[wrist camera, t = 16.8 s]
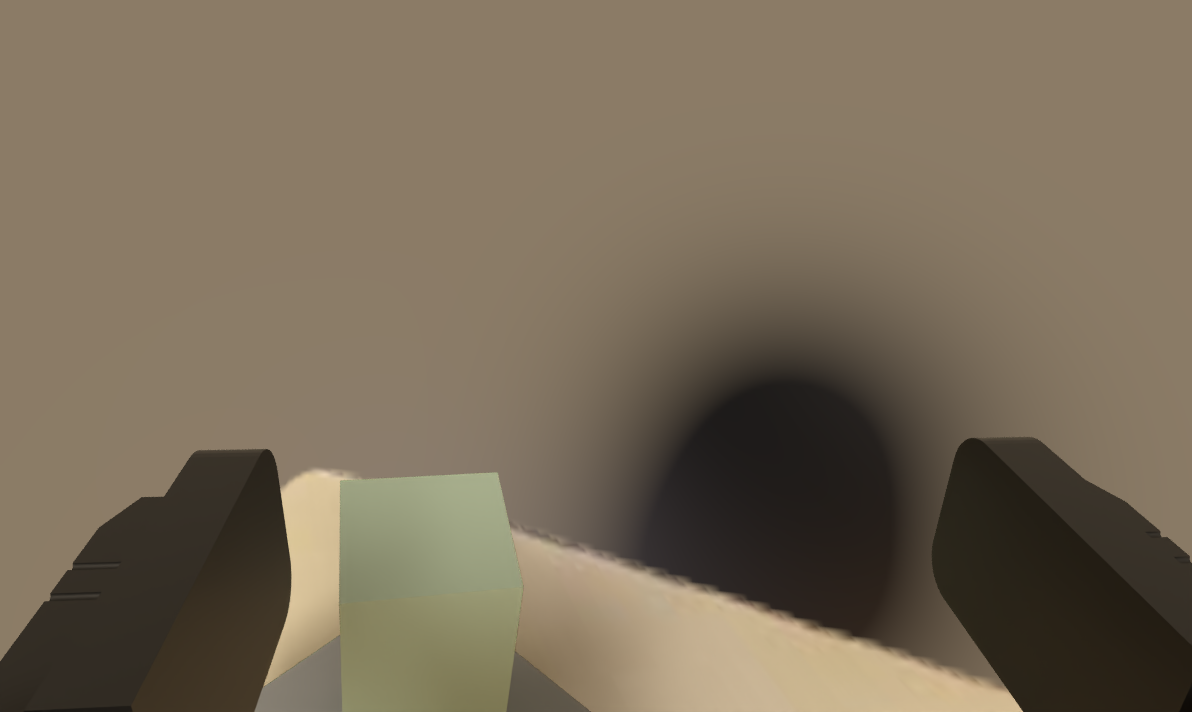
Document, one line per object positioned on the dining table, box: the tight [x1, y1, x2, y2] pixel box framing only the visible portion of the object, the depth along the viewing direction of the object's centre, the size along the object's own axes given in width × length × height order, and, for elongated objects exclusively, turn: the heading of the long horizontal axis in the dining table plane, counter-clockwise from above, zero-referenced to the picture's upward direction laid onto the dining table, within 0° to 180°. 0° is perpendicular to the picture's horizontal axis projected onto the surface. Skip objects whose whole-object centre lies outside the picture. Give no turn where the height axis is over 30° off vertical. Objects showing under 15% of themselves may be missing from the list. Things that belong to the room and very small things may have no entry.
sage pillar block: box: [339, 472, 523, 712], centre depth 27 cm, size 5×5×10 cm
